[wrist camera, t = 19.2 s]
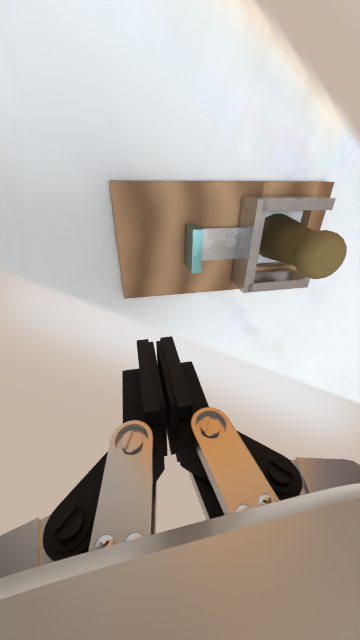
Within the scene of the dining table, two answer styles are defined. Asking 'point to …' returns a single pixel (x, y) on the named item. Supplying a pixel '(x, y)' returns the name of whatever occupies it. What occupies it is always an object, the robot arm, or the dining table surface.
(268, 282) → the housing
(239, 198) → the board
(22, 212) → the dining table surface
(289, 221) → the olive tapered rounded piece
